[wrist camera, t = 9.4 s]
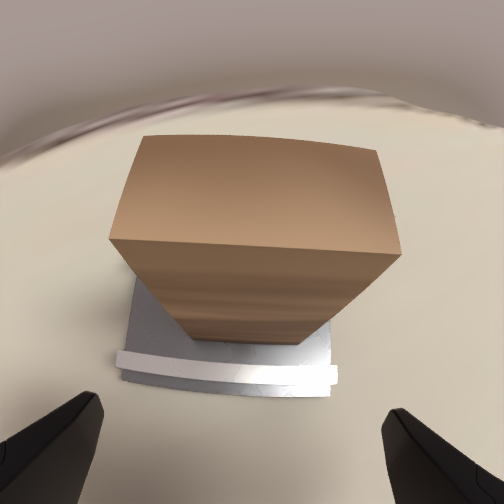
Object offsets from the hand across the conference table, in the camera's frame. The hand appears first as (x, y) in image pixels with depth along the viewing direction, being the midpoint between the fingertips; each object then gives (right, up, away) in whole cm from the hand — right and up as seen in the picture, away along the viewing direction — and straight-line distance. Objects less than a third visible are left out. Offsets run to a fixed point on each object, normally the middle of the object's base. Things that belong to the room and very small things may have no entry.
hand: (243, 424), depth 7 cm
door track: (0, +1, +10) cm, 10 cm away
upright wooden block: (0, +1, +9) cm, 10 cm away
